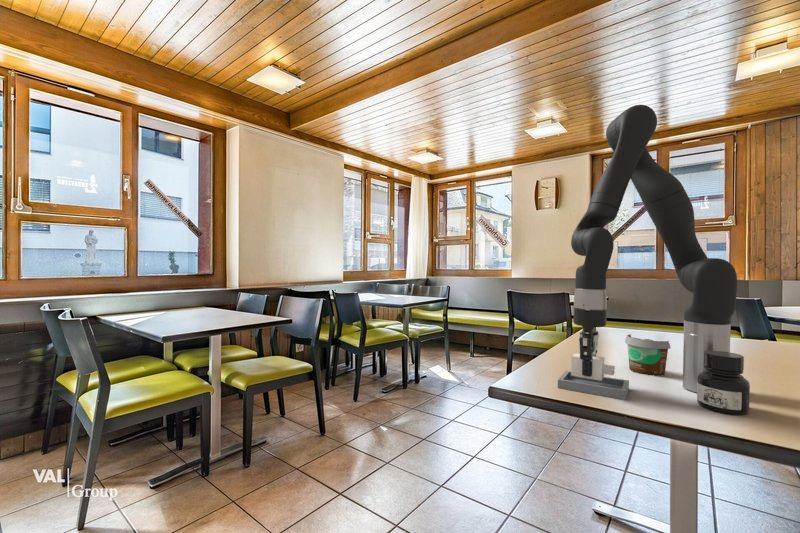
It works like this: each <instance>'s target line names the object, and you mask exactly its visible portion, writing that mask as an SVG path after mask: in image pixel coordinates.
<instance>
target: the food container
mask: <svg viewBox="0 0 800 533" xmlns="http://www.w3.org/2000/svg"><path fill="white" fill-rule="evenodd" d="M624 343H625V344H627V354H628V365H629V366H628V367H629V371H631V372H633V373H636V374H640V375H646V376H653V375H654V377H656V376H657V377H658V376H659V377H662V375H663V376H665V375H666V366H667V361H668V354H669V350H670V349H672V348H671V343H670V340H666V341H665V340H664V341H662V340H652V339H649V338H637V337H632V334H631V333H629V334H626V336H625V340H624Z"/></svg>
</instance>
